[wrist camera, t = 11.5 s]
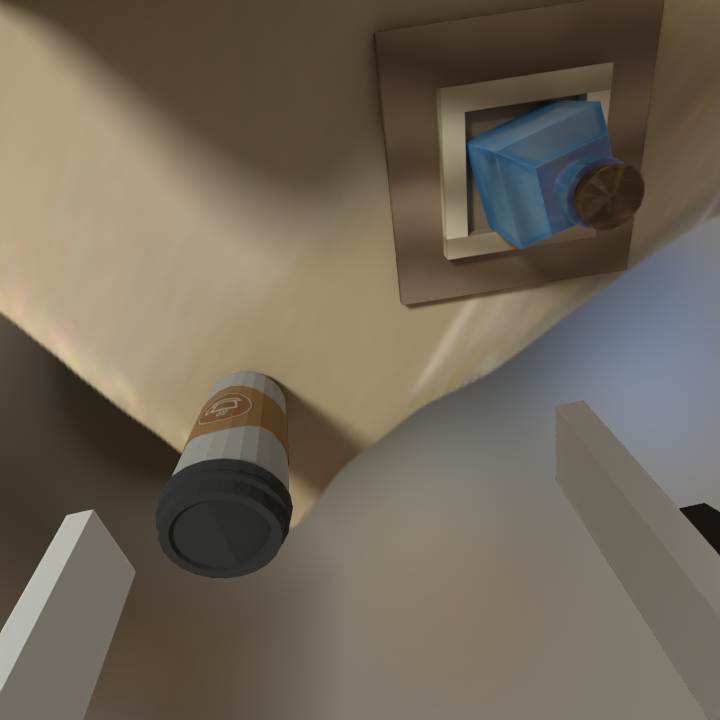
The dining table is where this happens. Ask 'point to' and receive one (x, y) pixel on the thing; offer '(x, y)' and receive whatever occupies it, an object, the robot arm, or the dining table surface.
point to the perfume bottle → (553, 174)
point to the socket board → (490, 109)
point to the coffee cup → (230, 483)
